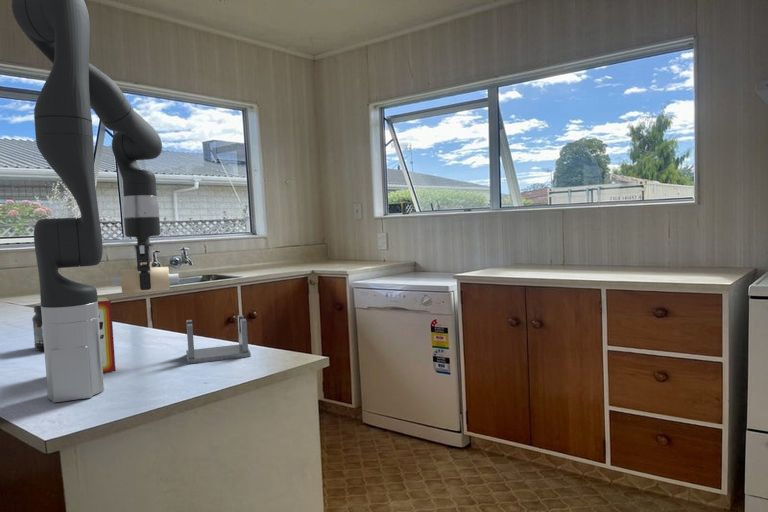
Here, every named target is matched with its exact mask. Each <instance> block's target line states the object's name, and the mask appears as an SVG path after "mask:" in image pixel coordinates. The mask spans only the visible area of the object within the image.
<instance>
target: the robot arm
mask: <svg viewBox="0 0 768 512" xmlns="http://www.w3.org/2000/svg"><path fill="white" fill-rule="evenodd" d="M11 11H12V15H13V17H14V20H15V21H16V23H17V25H18V27H19V28H20V29H21V31H22V32H23V33H24V35H25V36H26V37H27V38H28V40H29V41H31V42H32V43H33V44H34V45H35V47H36V48H37V49H38V50H39V51H40V52H41V53H42V54H43V55H44V56H45V57H46V58H47V59H48V60H49V61H50V62H51V63H52V66H51V70H50V72H49V74H48V77H47V79H46V81H45V82H44V84H43V86H42V88H41V90H40V93H39V94H38V97H37V98H36V102H35V104H34V111H33V115H34V116H33V118H34V121H33V122H34V129H35V130H34V132H35V143H36V146H37V149H38V151H39V152H40V154H41V156H42V157H43V159H44V160H45V161H46V162H47V164H48V165H49V166H50V167H51V169H52V170H53V171H54V172H55V173H56V174H57V176H58V177H59V178H60V179H61V181H62V182H63V183H64V185H65V187H67V189H68V191H69V192H70V193H71V195H72V197H73V199H74V200H75V203H76V205H77V207H78V209H79V212H80V217H58V218H55V217H53V218H42V219H39V220H37V221H36V223H35V225H34V227H33V228H34V229H33V243H34V251H35V256H36V257H35V258H36V264H37V271H38V281H39V293H40V294H39V295H40V303H41V313H42V327H43V340H44V351H43V353H44V363H45V375H46V387H47V388H46V389H47V398H48V400H49V401H52V403H60V402H67V401H68V402H69V401H75V400H82V399H89V398H92V397H93V396H96V395H97V394H100V393H101V392H103V391H104V389H105V387H104V385H105V383H104V373H103V369H102V356H101V342H100V328H99V313H98V298H99V297H98V291H97V288H96V287H95V286H93V285H91V284H90V285H89V284H86V283H80V282H77V281H74V280H70V279H68V278H66V277H65V276H63V275H61V274H60V272H59V269H64V268H81V267H82V268H83V267H92V266H93V267H94V266H97V265H99V264H100V263H101V261H102V259H103V258H102V257H103V253H104V252H103V249H104V247H103V236H102V227H101V219H100V212H99V203H98V199H97V189H96V180H95V179H96V176H95V156H94V155H95V153H94V151H95V149H94V129H93V117H92V112H91V111H92V110H93V112H94V114H95V115H96V116H97V117H98V119H99V120H100V121H101V123H102V124H103V126H104V127H105V128H106V129H108V130H109V131H113V132H115V133H114V134H113V137H112V139H111V149H112V154H113V157H114V159H115V161H116V164H117V167H118V170H119V172H120V175H121V179H122V190H123V192H122V193H123V203H122V204H123V207H122V209H123V223H124V235H125V237H127V238H136V239H137V240H136V242H137V244H134V245H133V252H134V254H135V255H134V256H135V264H136V265H137V267H136V268H137V270H138V272H139V276H140V289H141V290H149V289H151V280H150V271H151V269H150V268H153V267H154V265H153V263H154V243H153V244H152V243H151V242H150V237H158V236H160V235H161V222H160V221H161V220H160V207H159V201H158V194H157V180H156V178H157V177H156V175H155V173H154V172H153V171H151V170H150V171H149V170H146V169H141V168H140V167H139V165H138V163H137V161H145V160H154V159H157V158H158V157H159V156H160V155H161V154H162V150H163V144H162V139H161V137H160V135H159V133H158V132H157V131H156V129H155V128H154V127H153V126H152V125H151V124H150V123H148V121H147V120H145V119H144V118H143V116H141V114H139V113H138V112H136V111H135V110H134V109H133V107H132V105H131V104H130V102H129V100H128V99H127V97H126V95H125V94H124V92H123V91H122V89H120V87H119V86H118V84H117V83H116V82H115V81H114V80H113V79H112V78H111V77H109V76H108V75H107V74H106V73H104V72H103V71H102V70H100V69H98V68H97V67H96V66H95V65H94V64H92V63H90V43H91V24H90V23H91V21H90V15H89V10H88V7H87V4H86V2H85V0H11ZM91 109H92V110H91Z"/></svg>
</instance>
